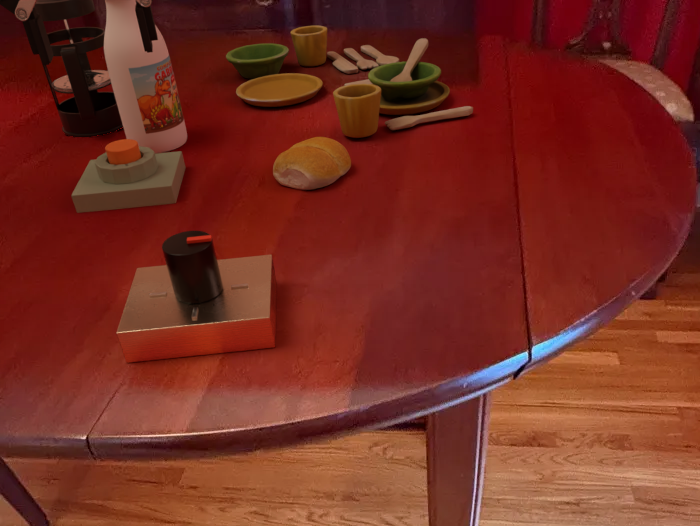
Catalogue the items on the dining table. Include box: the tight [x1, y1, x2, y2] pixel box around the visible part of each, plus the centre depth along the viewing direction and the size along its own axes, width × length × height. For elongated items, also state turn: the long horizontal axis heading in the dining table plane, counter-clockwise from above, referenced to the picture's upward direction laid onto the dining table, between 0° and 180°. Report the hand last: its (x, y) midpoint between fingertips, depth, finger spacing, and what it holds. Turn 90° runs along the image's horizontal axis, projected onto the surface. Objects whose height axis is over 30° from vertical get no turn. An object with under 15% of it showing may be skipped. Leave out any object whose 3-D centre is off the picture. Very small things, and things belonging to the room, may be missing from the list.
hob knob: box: [161, 230, 223, 303], centre depth 59 cm, size 4×4×5 cm
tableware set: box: [225, 24, 474, 139], centre depth 105 cm, size 41×28×6 cm
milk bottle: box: [103, 0, 188, 154], centre depth 89 cm, size 8×8×20 cm
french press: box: [34, 0, 123, 138], centre depth 95 cm, size 12×9×23 cm
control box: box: [70, 146, 186, 214], centre depth 83 cm, size 11×10×4 cm
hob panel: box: [115, 254, 278, 364], centre depth 61 cm, size 12×10×3 cm
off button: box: [104, 138, 141, 165], centre depth 82 cm, size 4×4×2 cm
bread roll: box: [272, 136, 352, 191], centre depth 83 cm, size 8×9×4 cm
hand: (99, 55), depth 71 cm, fingers open, 9 cm apart
